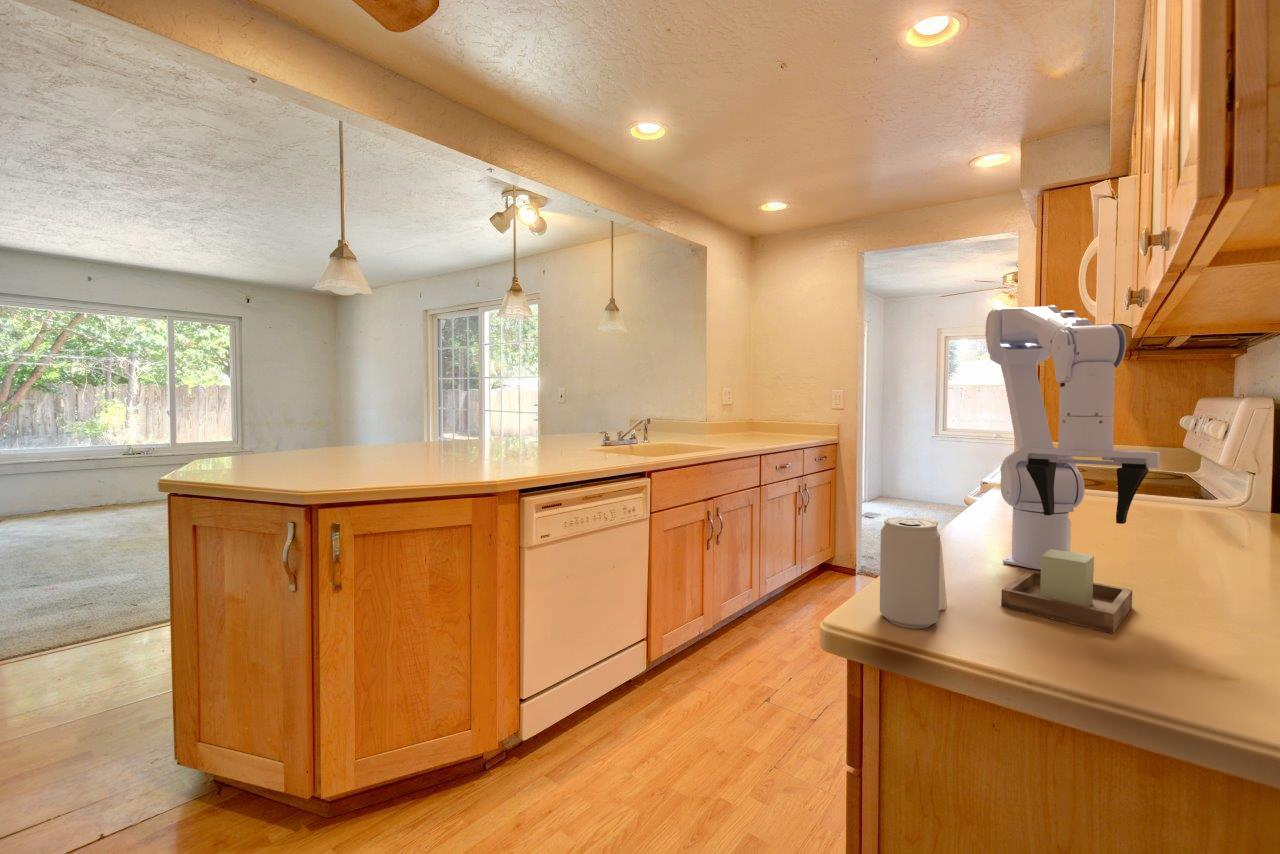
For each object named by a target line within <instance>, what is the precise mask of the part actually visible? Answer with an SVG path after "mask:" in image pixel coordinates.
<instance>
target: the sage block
mask: <svg viewBox="0 0 1280 854" xmlns="http://www.w3.org/2000/svg"><path fill="white" fill-rule="evenodd" d="M1094 565H1095V556H1094V555H1089V554H1083V553H1078V552H1072V551H1070V552H1066V551H1060V550H1054V549H1050V550H1049V551H1047V552H1046V553H1044V554H1043V555H1041V570H1040V572H1041V582H1040V596H1041V597H1046V598H1051V599H1055V600H1060V601H1064V602H1069V603H1074V604H1078V605H1083V606H1088V607H1089V606H1090V605H1091V604H1092V603H1093V582H1094V570H1095V569H1094V568H1095V566H1094Z"/></svg>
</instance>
